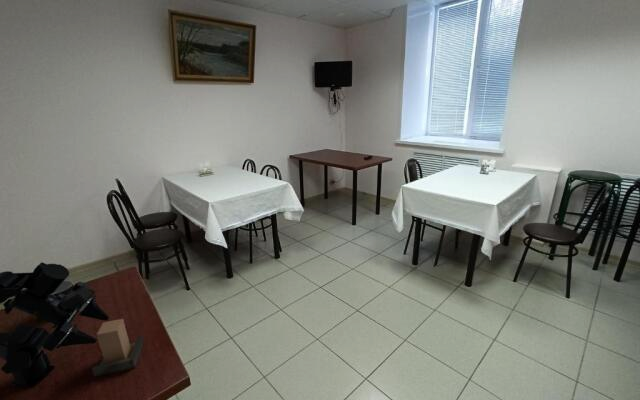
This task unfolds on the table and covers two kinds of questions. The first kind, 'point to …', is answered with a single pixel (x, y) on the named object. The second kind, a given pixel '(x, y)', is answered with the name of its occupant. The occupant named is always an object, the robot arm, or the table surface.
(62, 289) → the black angular block
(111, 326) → the tan block
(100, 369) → the grey shallow square piece
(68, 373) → the table surface
